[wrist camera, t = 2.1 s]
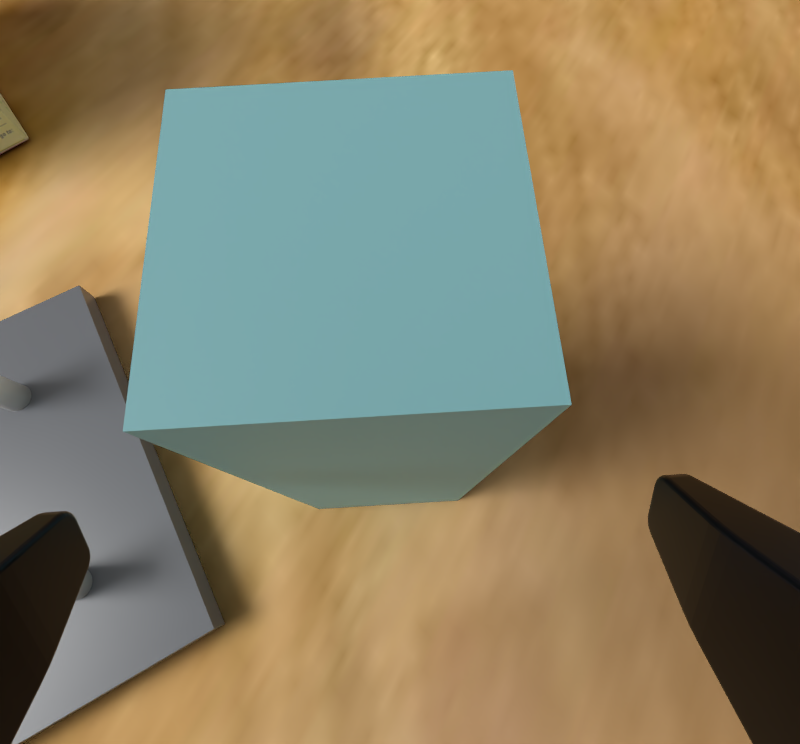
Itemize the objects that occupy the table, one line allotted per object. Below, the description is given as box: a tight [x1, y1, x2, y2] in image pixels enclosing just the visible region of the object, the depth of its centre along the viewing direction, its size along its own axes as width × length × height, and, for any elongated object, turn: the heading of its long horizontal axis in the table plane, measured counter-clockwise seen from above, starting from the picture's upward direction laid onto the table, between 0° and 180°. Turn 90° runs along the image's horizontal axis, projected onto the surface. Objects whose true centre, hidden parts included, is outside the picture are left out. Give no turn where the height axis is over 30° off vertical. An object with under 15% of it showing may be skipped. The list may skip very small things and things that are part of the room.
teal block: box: [123, 70, 572, 509], centre depth 12 cm, size 5×5×13 cm
